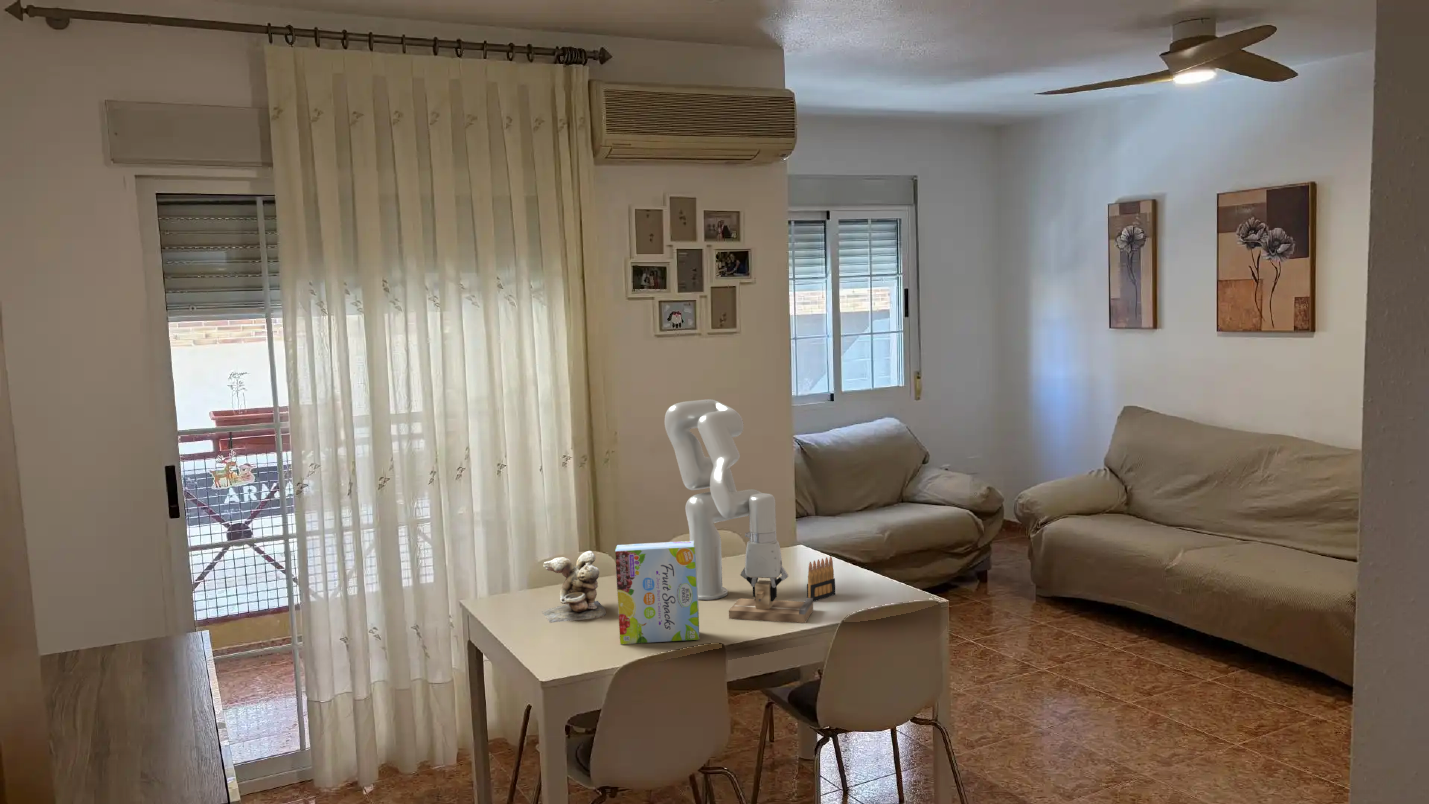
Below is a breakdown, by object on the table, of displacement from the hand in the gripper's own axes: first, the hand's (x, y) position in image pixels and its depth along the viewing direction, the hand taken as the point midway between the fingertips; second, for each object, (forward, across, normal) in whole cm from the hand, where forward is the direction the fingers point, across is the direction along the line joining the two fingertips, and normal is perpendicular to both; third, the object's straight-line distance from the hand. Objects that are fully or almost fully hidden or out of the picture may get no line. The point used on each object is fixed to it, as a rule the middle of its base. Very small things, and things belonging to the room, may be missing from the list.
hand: (765, 599), depth 307 cm
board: (+4, +2, 0) cm, 5 cm away
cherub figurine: (+4, -56, -8) cm, 57 cm away
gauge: (+2, 0, -1) cm, 2 cm away
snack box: (+5, -23, -26) cm, 35 cm away
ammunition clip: (+5, +12, +19) cm, 23 cm away
